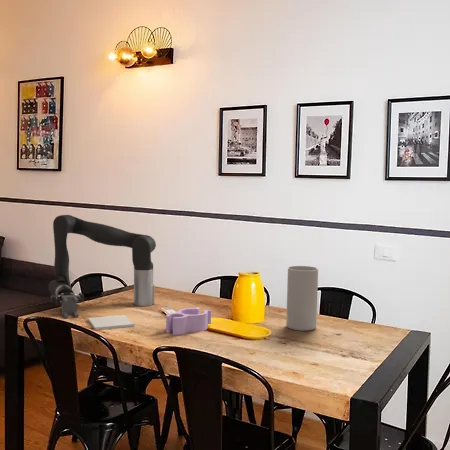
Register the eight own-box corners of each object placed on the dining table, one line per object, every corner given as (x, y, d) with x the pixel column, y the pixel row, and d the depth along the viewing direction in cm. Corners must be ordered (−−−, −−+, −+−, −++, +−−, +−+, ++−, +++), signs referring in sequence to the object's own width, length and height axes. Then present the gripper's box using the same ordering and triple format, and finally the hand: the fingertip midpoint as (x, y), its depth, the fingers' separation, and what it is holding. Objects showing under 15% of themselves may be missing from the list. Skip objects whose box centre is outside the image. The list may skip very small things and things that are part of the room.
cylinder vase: (292, 321, 246) (293, 264, 244) (320, 325, 240) (321, 267, 238) (282, 328, 235) (283, 269, 232) (311, 332, 229) (313, 271, 227)
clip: (180, 337, 221) (180, 320, 220) (159, 331, 229) (159, 314, 228) (215, 327, 236) (215, 311, 235) (194, 322, 244) (194, 306, 243)
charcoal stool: (75, 312, 256) (75, 294, 256) (78, 317, 247) (78, 299, 246) (61, 313, 254) (61, 295, 253) (64, 318, 245) (64, 300, 244)
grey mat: (125, 317, 249) (125, 314, 249) (134, 326, 235) (134, 323, 235) (88, 320, 243) (88, 317, 243) (95, 329, 228) (95, 327, 228)
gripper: (48, 286, 263) (52, 293, 248) (79, 285, 269) (85, 291, 254) (48, 302, 264) (52, 310, 249) (80, 300, 270) (85, 308, 255)
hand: (69, 301), depth 252 cm, fingers open, 8 cm apart
